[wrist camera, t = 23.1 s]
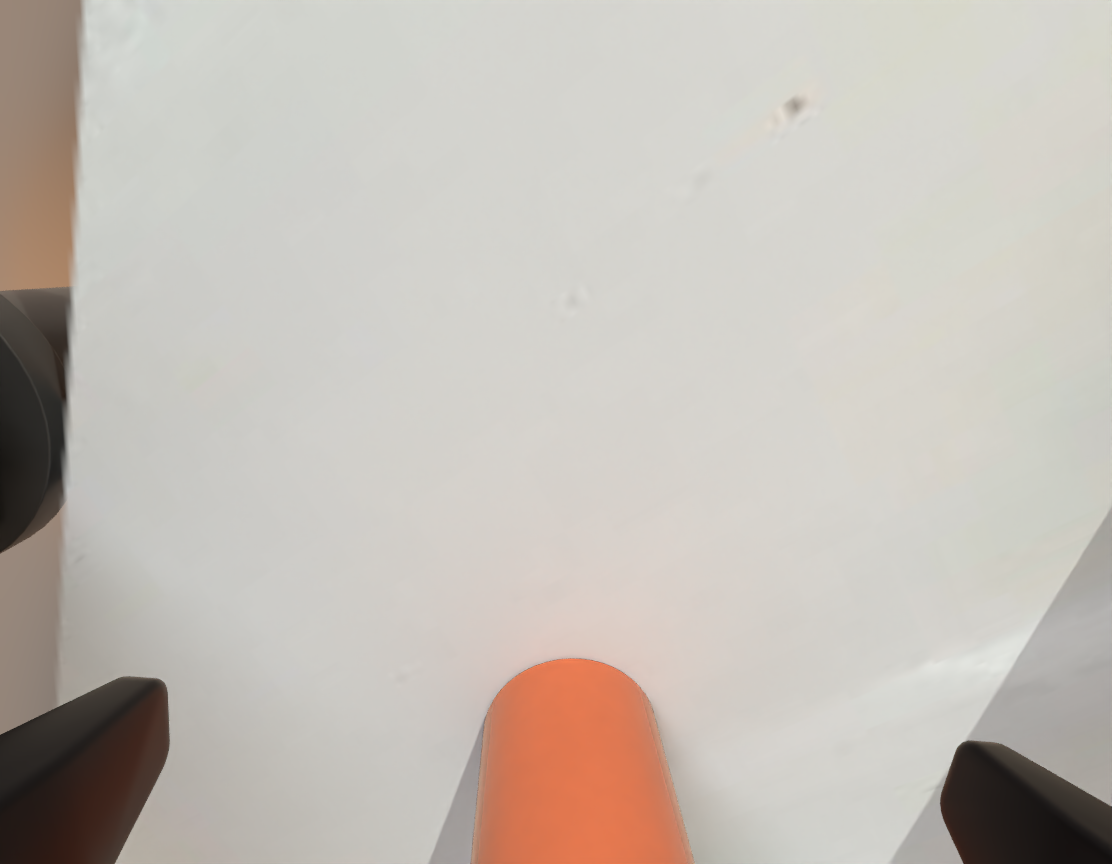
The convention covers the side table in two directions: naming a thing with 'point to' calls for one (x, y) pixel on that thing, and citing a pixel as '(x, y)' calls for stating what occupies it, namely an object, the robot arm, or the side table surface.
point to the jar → (575, 773)
